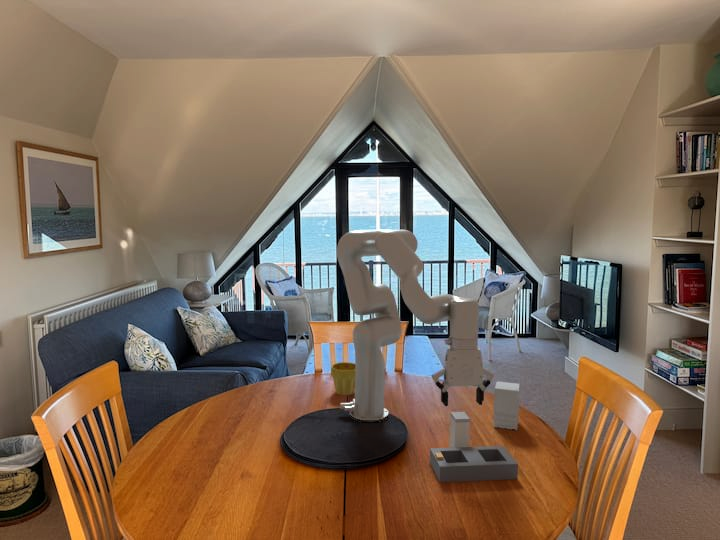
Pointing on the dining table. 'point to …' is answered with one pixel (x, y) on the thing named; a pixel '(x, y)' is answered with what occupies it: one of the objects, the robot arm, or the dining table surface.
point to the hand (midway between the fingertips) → (462, 404)
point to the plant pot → (344, 377)
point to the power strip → (473, 463)
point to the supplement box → (506, 405)
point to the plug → (459, 430)
